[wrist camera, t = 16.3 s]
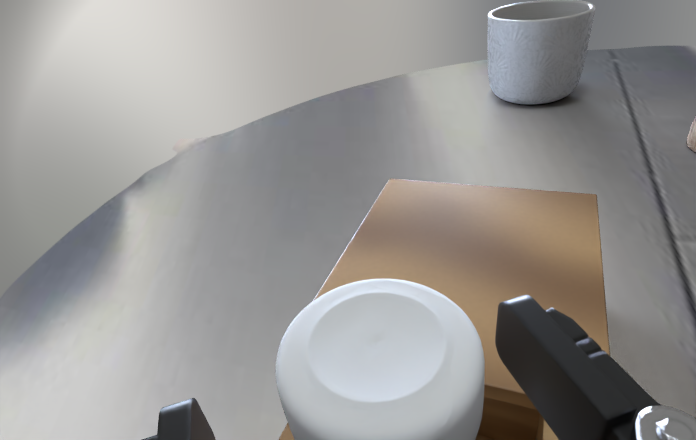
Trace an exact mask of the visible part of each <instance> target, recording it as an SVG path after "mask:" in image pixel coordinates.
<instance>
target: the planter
mask: <svg viewBox="0 0 696 440" xmlns="http://www.w3.org/2000/svg"><path fill="white" fill-rule="evenodd" d="M594 12H595V6H594V5H593V4H592V3H589V2H585V1H577V0H543V1H531V2H523V3H517V4H512V5H507V6H503V7H500V8H497V9H495V10H492V11H491V12H490V13H489V14H488V75H489V83H490V87H491V89H492V91H493V93H494V94H495V95H496V96H498V97H499V98H501V99H503V100H505V101H508V102H512V103H517V104H543V103H549V102H553V101H557V100H560V99H562V98H564V97H566V96H567V95H569V94H570V93H571V92H572V91H573V90H574V89H575V88H576V86H577V84H578V82H579V79H580V76H581V73H582V70H583V66H584V62H585V57H586V53H587V48H588V42H589V38H590V32H591V27H592V22H593V17H594Z"/></svg>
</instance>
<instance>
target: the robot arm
mask: <svg viewBox="0 0 696 440" xmlns="http://www.w3.org/2000/svg"><path fill="white" fill-rule="evenodd" d="M495 344H496V349H497V352H498V354H499V357H500V359H501V360H502V362H503V364H504V365H505V366H506V368H507V369H508V371H509V372H510V373H511V375H512V376H513V377H514V379H515V380H516V382H517V383H518V384H519V386H520V387H521V388H522V390H523V391H524V392H525V394H526V395H527V397H528V398H529V399H530V401H531V402H532V403H533V405H534V406H535V408H536V409H537V410H538V412H539V413H540V414H541V416H542V417H543V418H544V420H545V421H546V423H547V424H548V425H549V427H550V428H551V429H552V431H553V432H554V434H555V435H556V436H557V438H558V439H559V440H696V419H695V418H693V417H692V416H690V415H689V414H687V413H685V412H683V411H681V410H678V409H676V408H672V407H668V406H661V405H660V404H659V403H657V402H656V401H655V400H654V399H653V398H652V397H651V396H650V395H649V394H648V393H647V392H645V391H644V390H643V389H642V388H641V387H640V386H639V385H638V384H637V383H636V382H635V381H634V380H633V379H632V378H631V377H630V376H629V375H628V374H627V373H626V372H625V371H624V370H623V369H622V368H621V367H620V366H619V365H618V364H617V363H616V362H615V361H614V360H613V359H612V358H611V357H610V356H609V355H608V354H607V353H606V352H605V351H604V350H602V349H601V347H600V346H599V345H598V344H597V343H596V342H595V341H594V340H593V339H592V338H590V337H589V336H588V334H587V333H586V332H585V331H584V330H583V329H582V328H581V327H580V326H579V325H578V324H577V323H576V322H575V321H574V320H573V319H572V318H570V317H568V316H566V315H565V314H563V313H561V312H559V311H557V310H556V309H554V308H550V309H547V310H544V309H543V308H542V307H541V306H540V305H539V304H538V303H537V302H536V301H535V299H533V298H532V297H531V296H529V295H522V296H519V297H516V298H513V299H510V300H507V301H503V302H501V303H499V305H498V313H497V324H496V336H495ZM142 440H215V437H214V434H213V431H212V429H211V428H210V426H209V424H208V422H207V420H206V418H205V416H204V414H203V412H202V410H201V408H200V406H199V404H198V402H197V401H196V399H195V398H192V399H189V400H185V401H182V402H179V403H176V404H173V405H170V406H166V407H163V408H162V409H161V410H160V413H159V421H158V433H157V435H155V436H152V437H149V438H146V439H142Z"/></svg>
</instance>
